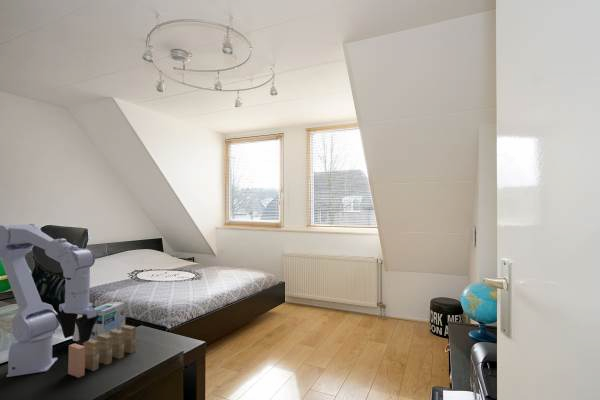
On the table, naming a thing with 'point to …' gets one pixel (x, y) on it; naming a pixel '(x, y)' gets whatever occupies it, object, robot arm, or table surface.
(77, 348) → the domino
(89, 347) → the domino
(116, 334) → the domino
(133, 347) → the domino
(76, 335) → the lightbulb
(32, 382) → the table surface
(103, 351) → the domino
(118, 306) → the light bulb box
